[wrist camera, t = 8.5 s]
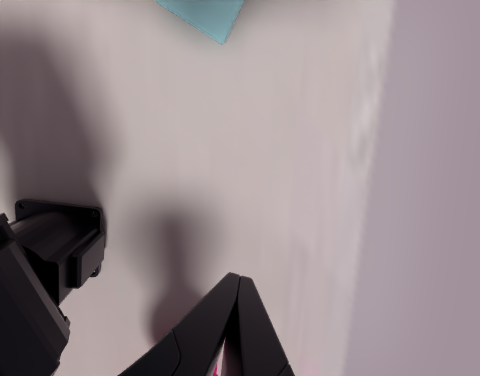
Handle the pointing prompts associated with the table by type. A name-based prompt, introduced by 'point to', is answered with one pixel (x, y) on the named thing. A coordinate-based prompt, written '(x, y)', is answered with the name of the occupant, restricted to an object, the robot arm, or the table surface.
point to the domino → (207, 15)
